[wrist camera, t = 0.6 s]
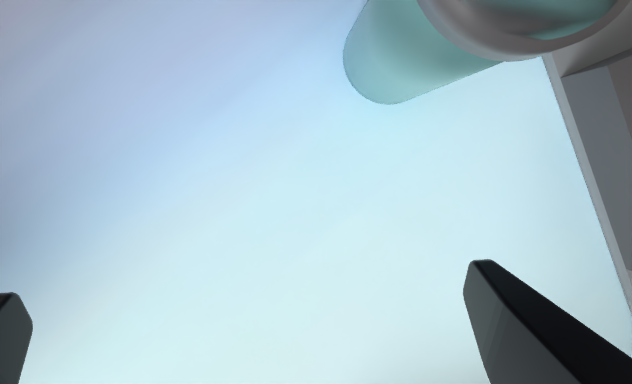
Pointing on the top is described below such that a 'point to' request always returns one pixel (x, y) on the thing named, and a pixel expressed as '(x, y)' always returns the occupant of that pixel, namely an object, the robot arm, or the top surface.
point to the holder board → (573, 61)
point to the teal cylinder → (459, 39)
